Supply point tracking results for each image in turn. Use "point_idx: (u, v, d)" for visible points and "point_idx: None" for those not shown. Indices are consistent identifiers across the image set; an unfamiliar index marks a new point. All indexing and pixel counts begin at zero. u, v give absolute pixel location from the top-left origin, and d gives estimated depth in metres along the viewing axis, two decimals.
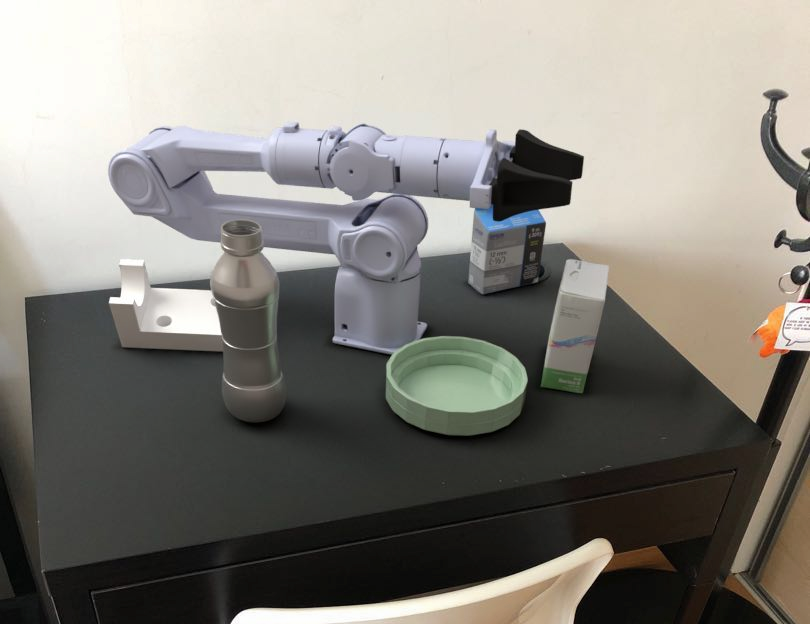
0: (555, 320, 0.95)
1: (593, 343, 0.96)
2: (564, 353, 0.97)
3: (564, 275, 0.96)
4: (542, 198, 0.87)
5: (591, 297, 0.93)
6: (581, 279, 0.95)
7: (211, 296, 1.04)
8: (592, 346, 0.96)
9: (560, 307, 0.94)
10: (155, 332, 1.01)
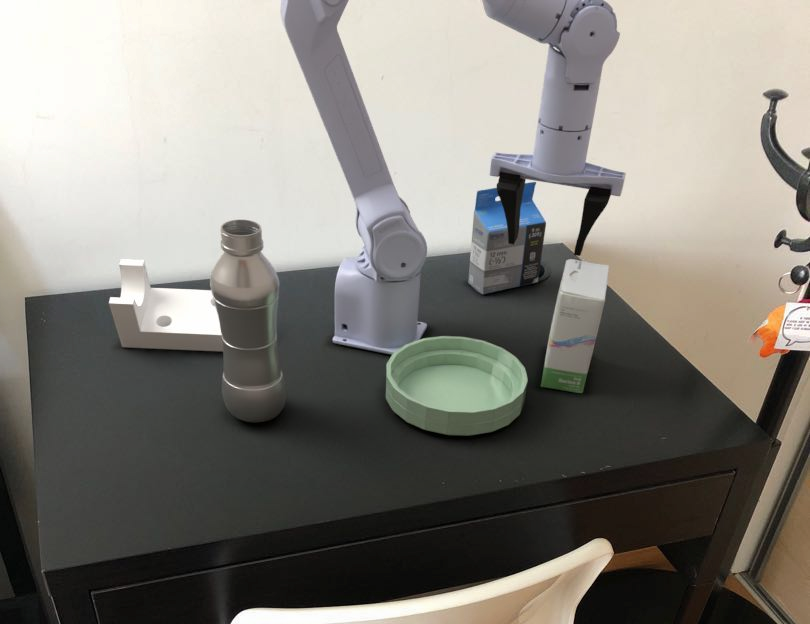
0: (555, 320, 0.95)
1: (593, 343, 0.96)
2: (564, 353, 0.97)
3: (564, 275, 0.96)
4: None
5: (591, 297, 0.93)
6: (581, 279, 0.95)
7: (211, 296, 1.04)
8: (592, 346, 0.96)
9: (560, 307, 0.94)
10: (155, 332, 1.01)
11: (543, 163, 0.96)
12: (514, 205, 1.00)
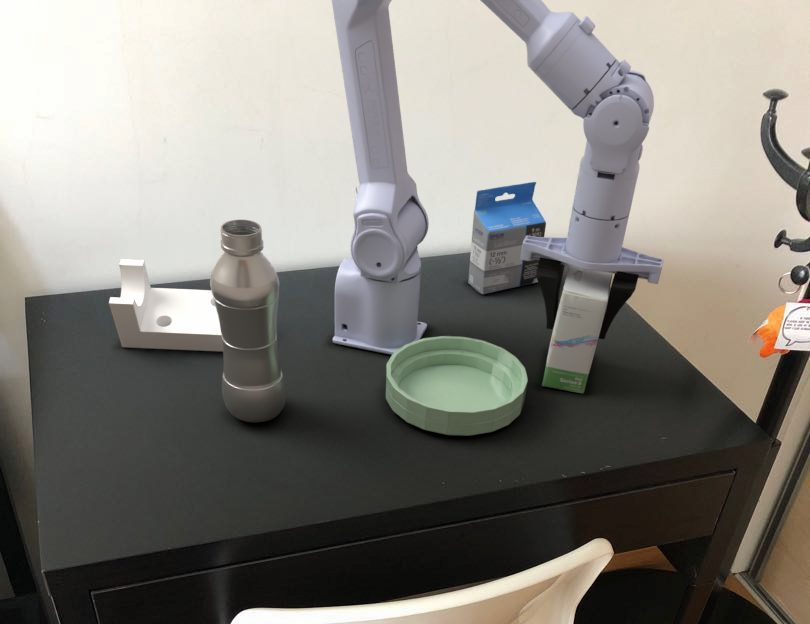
0: (557, 319, 0.95)
1: (595, 343, 0.96)
2: (565, 352, 0.97)
3: (567, 274, 0.96)
4: None
5: (594, 297, 0.93)
6: (585, 279, 0.95)
7: (211, 296, 1.04)
8: (594, 346, 0.96)
9: (563, 306, 0.94)
10: (155, 332, 1.01)
11: (578, 251, 0.91)
12: (554, 292, 0.96)
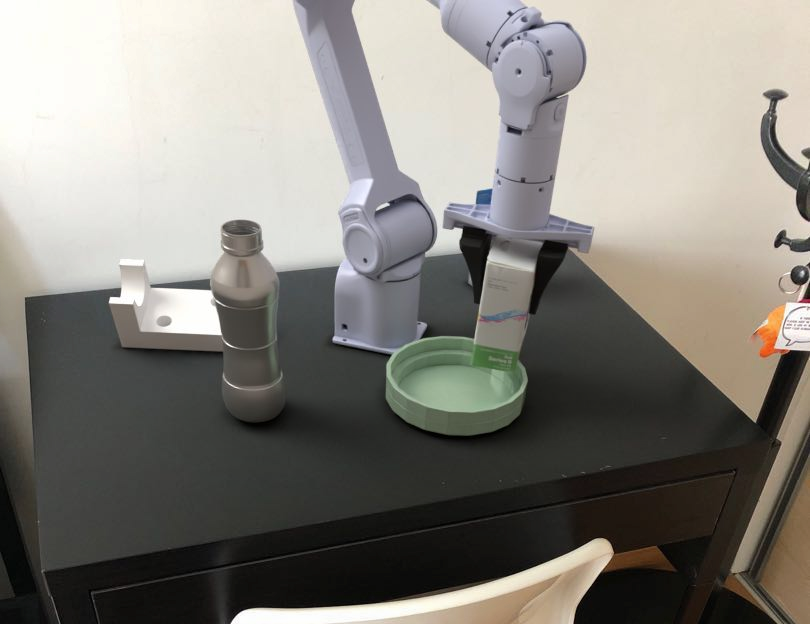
0: (482, 292, 0.89)
1: (523, 318, 0.90)
2: (493, 328, 0.91)
3: (493, 244, 0.89)
4: None
5: (519, 268, 0.86)
6: (511, 249, 0.89)
7: (211, 296, 1.04)
8: (522, 321, 0.90)
9: (487, 278, 0.87)
10: (155, 332, 1.01)
11: (501, 217, 0.85)
12: (479, 263, 0.89)
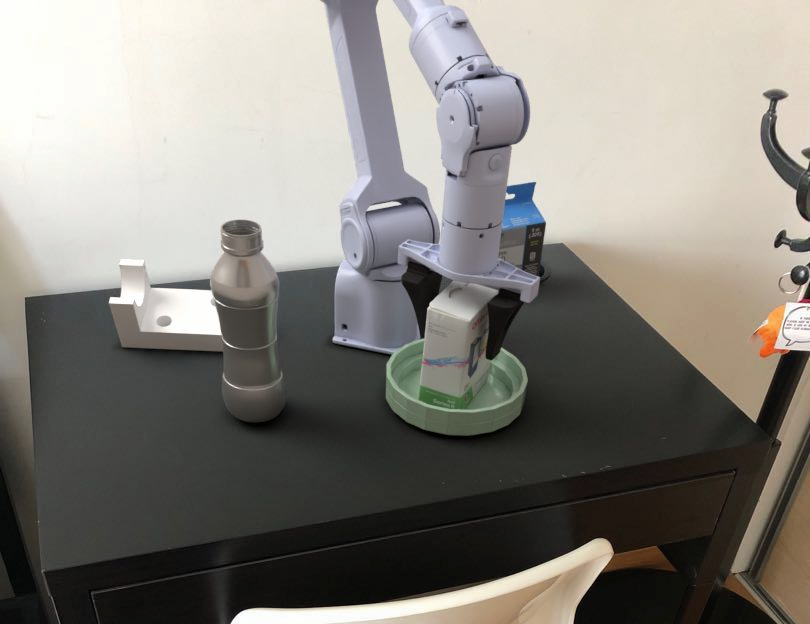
0: (425, 336, 0.90)
1: (463, 366, 0.90)
2: (435, 372, 0.92)
3: (443, 290, 0.91)
4: None
5: (457, 316, 0.87)
6: (459, 297, 0.90)
7: (211, 296, 1.04)
8: (462, 368, 0.91)
9: (428, 322, 0.89)
10: (155, 332, 1.01)
11: (445, 259, 0.86)
12: (420, 299, 0.91)
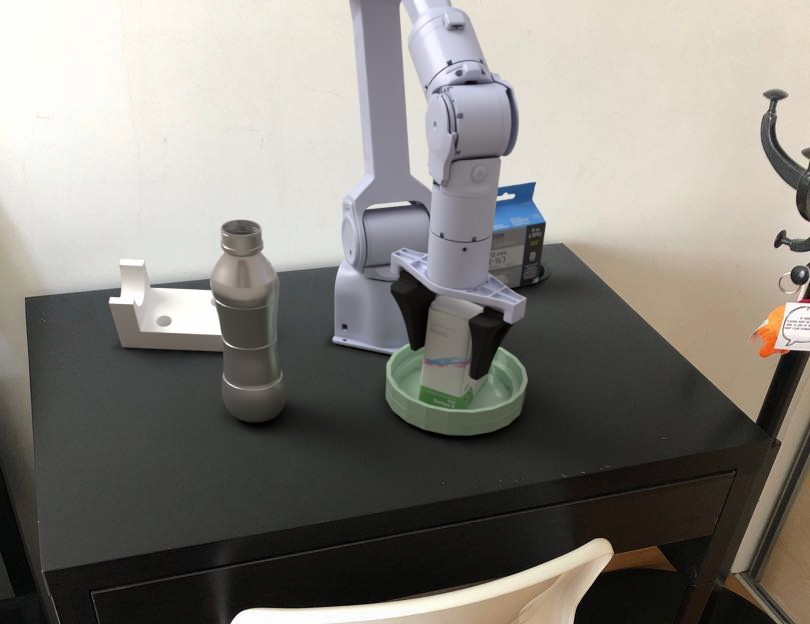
0: (426, 336, 0.90)
1: (464, 366, 0.90)
2: (436, 372, 0.92)
3: None
4: (483, 355, 0.86)
5: (459, 317, 0.87)
6: None
7: (211, 296, 1.04)
8: (463, 369, 0.91)
9: (429, 322, 0.89)
10: (155, 332, 1.01)
11: (430, 270, 0.82)
12: (409, 310, 0.88)
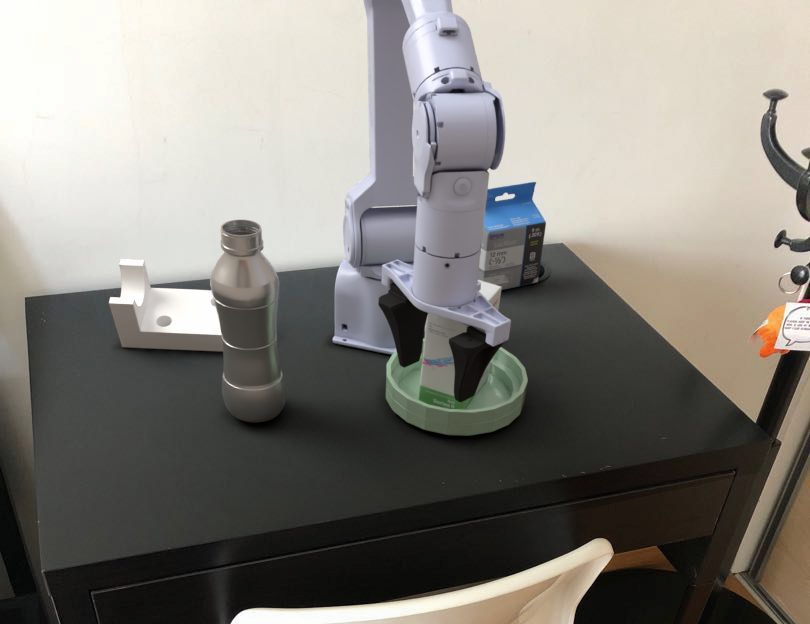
0: (425, 336, 0.90)
1: None
2: (435, 372, 0.92)
3: None
4: (467, 377, 0.82)
5: None
6: None
7: (211, 296, 1.04)
8: None
9: (428, 322, 0.89)
10: (155, 332, 1.01)
11: (414, 285, 0.79)
12: (396, 324, 0.84)
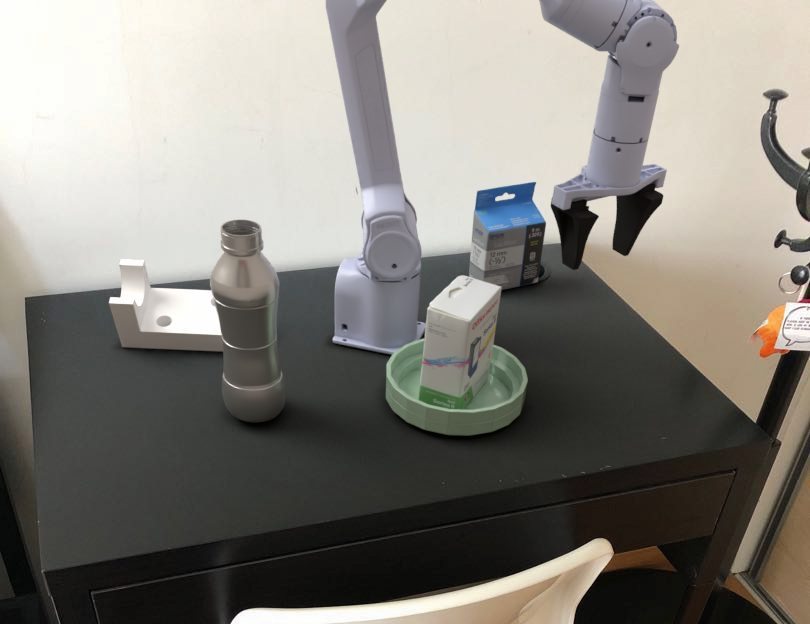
0: (425, 336, 0.90)
1: (463, 366, 0.90)
2: (435, 372, 0.92)
3: (443, 290, 0.91)
4: None
5: (457, 316, 0.87)
6: (459, 297, 0.90)
7: (211, 296, 1.04)
8: (462, 368, 0.91)
9: (428, 322, 0.89)
10: (155, 332, 1.01)
11: (621, 179, 0.93)
12: (588, 230, 0.96)
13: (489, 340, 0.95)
